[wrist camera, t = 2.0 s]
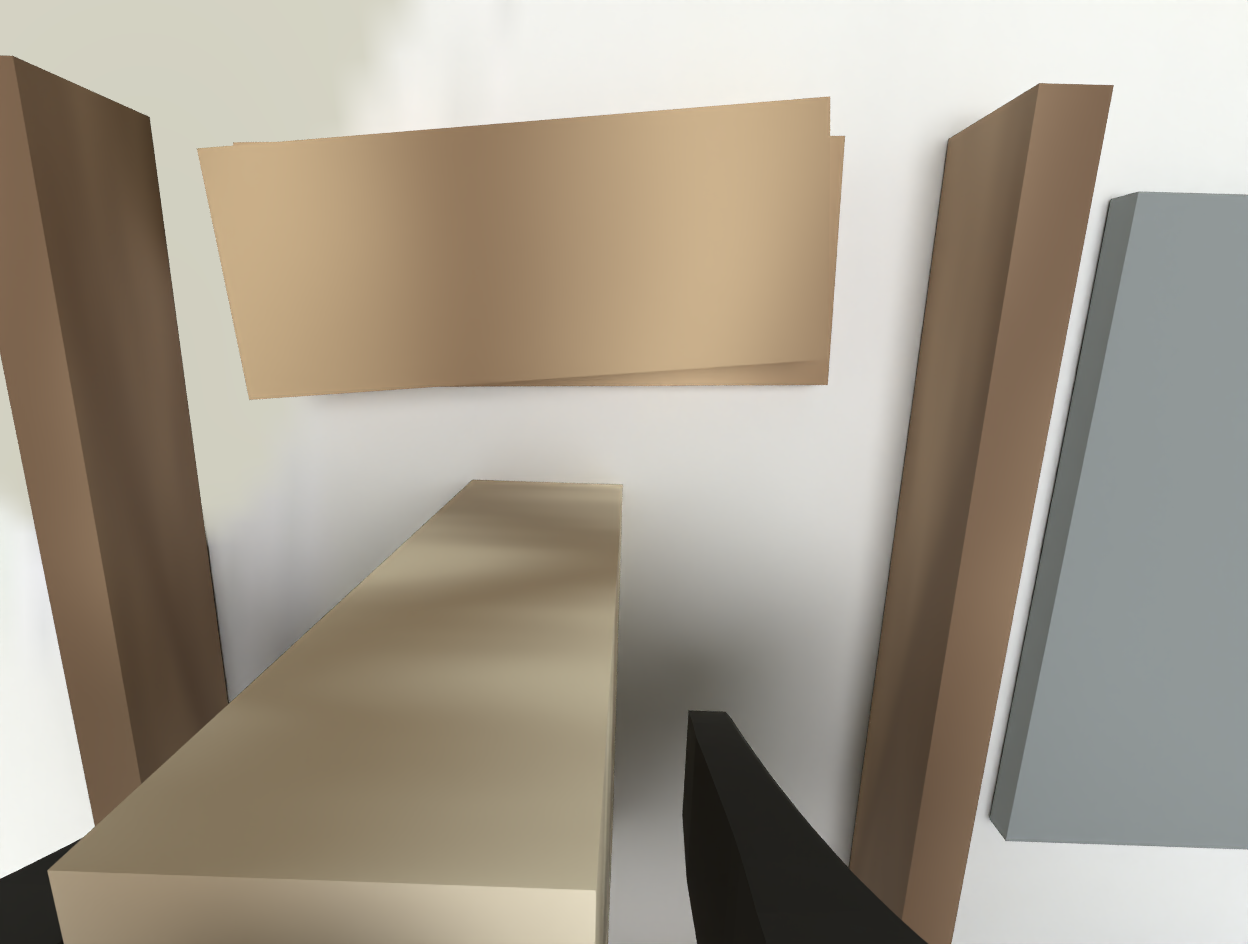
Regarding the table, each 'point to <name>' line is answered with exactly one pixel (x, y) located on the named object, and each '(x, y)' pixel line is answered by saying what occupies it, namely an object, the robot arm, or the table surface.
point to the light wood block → (397, 757)
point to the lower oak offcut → (728, 375)
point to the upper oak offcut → (527, 248)
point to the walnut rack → (172, 512)
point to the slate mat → (1145, 553)
